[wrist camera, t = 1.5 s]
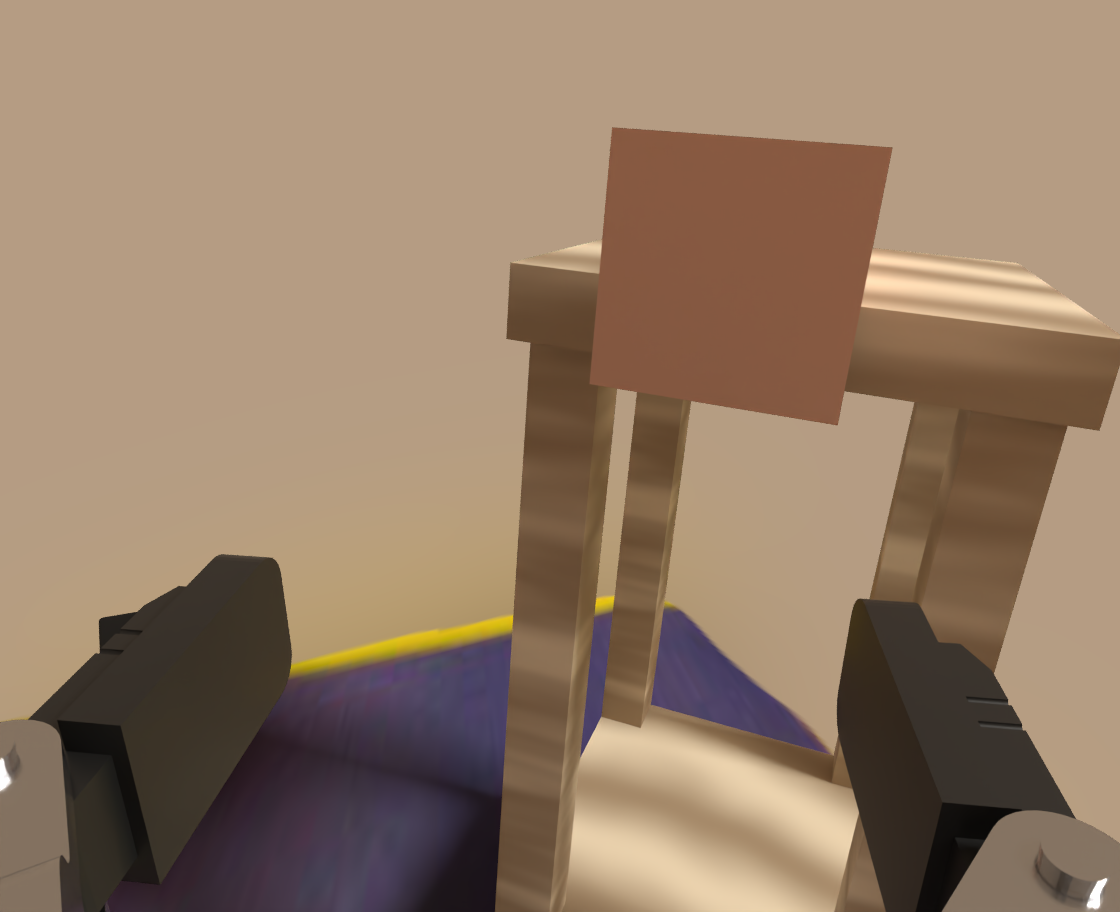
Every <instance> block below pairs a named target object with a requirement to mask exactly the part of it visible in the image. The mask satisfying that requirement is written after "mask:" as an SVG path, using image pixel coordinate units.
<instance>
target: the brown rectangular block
mask: <svg viewBox="0 0 1120 912" xmlns="http://www.w3.org/2000/svg"><path fill="white" fill-rule="evenodd" d="M891 153H892V147H877V146H865V145H851V144H836V143H822V142H808V141H795V140H781V139H766V138H753V137H738V136H725V135H724V136H723V135H710V134H697V133H682V132H669V131H654V130H641V129H627V128H612V136H611V147H610V158H609V170H608V181H607V192H606V203H605V214H604V226H603V238H602V248H601V260H600V271H599V282H598V293H597V305H596V316H595V327H594V338H593V350H592V361H591V372H590V384H592V385H598V386H604V387H610V388H616V389H622V390H628V391H634V392H640V393H646V394H652V395H658V396H664V397H670V398H676V399H682V400H688V401H695V402H701V403H706V404H712V405H719V406H724V407H731V408H736V409H743V410H748V411H755V412H761V413H767V414H772V415H778V416H784V417H791V418H796V419H802V420H808V421H814V422H820V423H826V424H832V425H838V421H839V416H840V410H841V405H842V400H843V395H844V390H845V385H846V380H847V375H848V370H849V365H850V360H851V355H852V350H853V345H854V340H855V335H856V330H857V325H858V320H859V315H860V309H861V304H862V299H863V294H864V289H865V284H866V279H867V274H868V269H869V264H870V259H871V254H872V249H873V244H874V239H875V234H876V229H877V224H878V218H879V213H880V208H881V203H882V198H883V193H884V188H885V183H886V177H887V173H888V168H889V163H890V158H891Z"/></svg>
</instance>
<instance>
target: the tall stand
mask: <svg viewBox="0 0 1120 912" xmlns="http://www.w3.org/2000/svg"><path fill="white" fill-rule="evenodd" d="M601 248H602V239H601V240H597V241H593V242H590V243H585V244H582V245H578V246H574V247H570V248H566V249H562V250H558V251H554V252H550V253H546V254H542V255H539V256H535V257H530V258H527V259H523V260H519V261H515V262H511V263H510V281H509V302H508V319H507V339H511V340H517V341H523V342H530V343H531V344H530V360H529V377H528V392H527V408H526V424H525V440H524V456H523V473H522V489H521V504H520V520H519V537H518V552H517V568H516V585H515V600H514V616H513V632H512V648H511V664H510V680H509V696H508V712H507V728H506V744H505V760H504V776H503V792H502V808H501V824H500V840H499V855H498V871H497V887H496V903H495V912H886V911H885V907H884V903H883V899H882V896H881V892H880V888H879V885H878V881H877V877H876V874H875V870H874V866H873V863H872V859H871V855H870V851H869V848H868V844H867V840H866V837H865V833H864V829H863V826H862V822H861V818H860V815H859V811H858V807H857V803H856V800H855V796H854V792H853V789H852V785H851V781H850V778H849V774H848V770H847V767H846V763H845V759H844V755H843V752H842V748H841V744H840V740H839V735H838V739H837V743H836V748H835V752H834V756H832V755H829V754H825V753H822V752H818V751H815V750H811V749H807V748H804V747H800V746H797V745H793V744H789V743H786V742H782V741H779V740H775V739H771V738H768V737H764V736H761V735H757V734H754V733H750V732H746V731H743V730H739V729H736V728H732V727H728V726H725V725H721V724H718V723H714V722H710V721H707V720H703V719H700V718H696V717H693V716H689V715H685V714H682V713H678V712H675V711H671V710H667V709H664V708H660V707H657V706H653V705H651V699H652V691H653V684H654V676H655V669H656V661H657V654H658V646H659V639H660V631H661V623H662V616H663V608H664V601H665V593H666V585H667V578H668V570H669V563H670V556H671V548H672V541H673V533H674V526H675V518H676V511H677V503H678V495H679V488H680V480H681V473H682V465H683V458H684V450H685V443H686V435H687V427H688V420H689V413H690V404H691V401H688V400H682V399H676V398H670V397H664V396H658V395H652V394H646V393H640V392H637V398H636V407H635V416H634V425H633V434H632V443H631V452H630V462H629V471H628V480H627V490H626V498H625V507H624V516H623V517H624V518H623V526H622V535H621V544H620V553H619V563H618V571H617V581H616V590H615V599H614V608H613V617H612V626H611V635H610V644H609V654H608V663H607V672H606V681H605V690H604V699H603V708H602V717H601V719H600V721H599V723H598V725H597V727H596V729H595V731H594V733H593V735H592V737H591V738H590V740H589V742H588V744H587V746H586V748H585V750H584V752H583V754H582V756H581V758H580V752H581V742H582V732H583V722H584V712H585V702H586V692H587V682H588V672H589V663H590V653H591V643H592V633H593V623H594V613H595V603H596V593H597V583H598V573H599V563H600V553H601V543H602V533H603V523H604V512H605V503H606V494H607V484H608V474H609V463H610V454H611V444H612V434H613V424H614V414H615V404H616V394H617V389H616V388H610V387H604V386H598V385H592V384H590V372H591V361H592V350H593V338H594V327H595V316H596V305H597V293H598V282H599V271H600V260H601ZM1119 366H1120V334H1118V333H1117V332H1115V331H1114V330H1113V329H1111V328H1110V327H1108V326H1107V325H1105V324H1104V323H1102V322H1101V321H1100V320H1098V319H1097V318H1095V317H1094V316H1093V315H1091V314H1090V313H1088V312H1087V311H1085V310H1084V309H1083V308H1081V307H1080V306H1078V305H1077V304H1075V303H1074V302H1073V301H1071V300H1070V299H1068V298H1067V297H1065V296H1064V295H1063V294H1061V293H1060V292H1058V291H1057V290H1055V289H1054V288H1053V287H1051V286H1050V285H1048V284H1047V283H1045V282H1044V281H1043V280H1041V279H1040V278H1038V277H1037V276H1035V275H1034V274H1033V273H1031V272H1030V271H1028V270H1027V269H1025V268H1024V267H1023V266H1021V265H1020V264H1018V263H1011V262H1002V261H991V260H983V259H973V258H964V257H954V256H945V255H935V254H926V253H916V252H907V251H897V250H888V249H878V248H873V249H872V254H871V259H870V264H869V269H868V274H867V279H866V284H865V289H864V294H863V299H862V304H861V309H860V315H859V320H858V325H857V330H856V335H855V340H854V345H853V350H852V355H851V360H850V365H849V370H848V375H847V380H846V385H845V390H844V391H847V392H853V393H859V394H866V395H873V396H879V397H885V398H892V399H898V400H905V401H911V402H914V407H913V411H912V415H911V420H910V424H909V429H908V433H907V437H906V442H905V447H904V450H903V455H902V460H901V464H900V468H899V472H898V477H897V481H896V486H895V490H894V495H893V499H892V503H891V507H890V512H889V516H888V521H887V525H886V530H885V534H884V538H883V542H882V547H881V552H880V555H879V560H878V565H877V568H876V573H875V577H874V582H873V586H872V591H871V595H870V599H872V600H887V601H902V602H916V603H918V604H919V605H920V607H921V608H922V610H923V612H924V614H925V616H926V618H927V620H928V622H929V624H930V626H931V628H932V630H933V632H934V634H935V636H936V638H937V640H938V642H943V643H957V644H961V645H962V646H964V647H965V648H966V649H967V650H968V651H969V652H971V653H972V654H973V655H974V656H975V657H977V658H978V659H979V660H980V661H981V662H982V663H984V664H985V665H986V666H987V667H988V668H989V669H991V670H992V672H993V674H994V672H995V668H996V665H997V661H998V658H999V654H1000V651H1001V648H1002V645H1003V641H1004V638H1005V634H1006V631H1007V628H1008V624H1009V621H1010V618H1011V614H1012V611H1013V608H1014V604H1015V601H1016V597H1017V594H1018V591H1019V587H1020V584H1021V581H1022V577H1023V574H1024V570H1025V567H1026V564H1027V561H1028V557H1029V554H1030V550H1031V547H1032V544H1033V540H1034V537H1035V533H1036V530H1037V527H1038V524H1039V520H1040V517H1041V513H1042V510H1043V507H1044V503H1045V500H1046V496H1047V493H1048V490H1049V487H1050V483H1051V480H1052V476H1053V473H1054V470H1055V466H1056V463H1057V459H1058V456H1059V453H1060V450H1061V446H1062V442H1063V440H1064V436H1065V433H1066V429H1067V426H1073V427H1080V428H1086V429H1092V430H1100V427H1101V424H1102V421H1103V417H1104V414H1105V411H1106V408H1107V405H1108V401H1109V398H1110V395H1111V391H1112V388H1113V385H1114V382H1115V379H1116V376H1117V373H1118V369H1119Z"/></svg>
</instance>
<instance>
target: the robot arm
mask: <svg viewBox="0 0 1120 912" xmlns="http://www.w3.org/2000/svg"><path fill="white" fill-rule="evenodd" d="M291 658H292V650H291V642H290V635H289V628H288V620H287V613H286V606H285V599H284V592H283V585H282V578H281V572H280V568H279V565H278V564H277V562H276V561H275V560H274V559H273V558H267V557H252V556H239V555H224V554H222V555H218V556H216V557H215V558H214V559H213V560H212V561H211V562H210V563H209V564H208V565H207V566H206V567H205V568H204V569H203V570H202V571H201V572H200V573H199V574H198V575H197V576H196V577H195V578H194V579H193V580H192V581H191V583H189V584H188V585H187V586H186V587H183V586H178V587H177V588H175V589H173V590H171V591H169V592H167V593H166V594H164V595H162V596H160V597H158V598H157V599H155V600H153V601H151V602H149V603H148V604H146V605H144V606H143V607H142V608H141V609H140V610H139V611H138V612H137V613H136V614H135V615H134V616H133V617H132V618H131V619H130V620H129V621H128V622H127V623H126V624H125V625H124V626H123V627H122V628H121V629H120V634H115V635H114V636H113V637H112V638H111V639H110V640H109V641H108V642H107V643H105V644H104V645H103V646H102V647H101V651H100V653H99V654H97V653H96V654H94V655H93V656H92V657H91V658H90V659H89V660H88V661H87V662H86V663H85V664H84V665H83V666H82V667H81V668H80V669H79V670H78V671H77V672H76V673H75V674H74V675H73V676H72V677H71V678H70V679H69V680H68V681H67V682H66V683H65V684H64V685H63V686H62V687H61V688H60V689H59V690H58V691H57V692H56V693H55V694H54V695H53V696H52V697H51V698H50V699H48V701H46V703H44V704H43V705H42V706H41V707H40V708H39V709H38V710H37V711H36V712H35V713H34V714H33V715H32V716H31V717H30V718H29V719H28V720H11V721H5V722H0V912H110V910H109V907H108V903H107V900H108V899H109V897H110V896H111V894H112V893H113V891H114V890H115V889H116V887H117V886H118V884H119V883H120V881H121V880H122V881H131V882H140V883H149V884H158V885H160V884H161V883H162V881H163V879H164V878H165V876H166V875H167V873H168V872H169V870H170V868H171V867H172V865H173V864H174V862H175V861H176V859H177V858H178V856H179V854H180V853H181V851H182V850H183V848H184V847H185V845H186V843H187V842H188V840H189V839H190V837H191V836H192V834H193V832H194V831H195V829H196V828H197V826H198V825H199V823H200V821H201V820H202V818H203V817H204V815H205V814H206V812H207V810H208V809H209V807H210V806H211V804H212V803H213V801H214V800H215V798H216V796H217V795H218V793H219V792H220V790H221V789H222V787H223V785H224V784H225V782H226V781H227V779H228V778H229V776H230V774H231V773H232V771H233V770H234V768H235V767H236V765H237V763H238V762H239V760H240V759H241V757H242V756H243V754H244V753H245V751H246V749H247V748H248V746H249V745H250V743H251V742H252V740H253V738H254V737H255V735H256V734H257V732H258V731H259V729H260V727H261V726H262V724H263V723H264V721H265V720H266V718H267V716H268V715H269V713H270V712H271V710H272V709H273V707H274V705H275V704H276V702H277V701H278V699H279V698H280V696H281V694H282V693H283V691H284V689H285V686H286V684H287V681H288V677H289V673H290V668H291ZM837 726H838V734H839V740H840V744H841V748H842V752H843V755H844V759H845V763H846V767H847V770H848V774H849V778H850V781H851V785H852V789H853V792H854V796H855V800H856V803H857V807H858V811H859V815H860V818H861V822H862V826H863V829H864V833H865V837H866V840H867V844H868V848H869V851H870V855H871V859H872V863H873V866H874V870H875V874H876V877H877V881H878V885H879V888H880V892H881V896H882V899H883V903H884V907H885V911H886V912H1120V843H1119V842H1117V841H1116V840H1114V839H1113V838H1111V837H1110V836H1108V835H1107V834H1105V833H1104V832H1102V831H1100V830H1098V829H1096V828H1095V827H1093V826H1091V825H1088V824H1086V823H1084V822H1082V821H1079V820H1077V819H1076V818H1075V816H1074V815H1073V813H1072V811H1071V809H1070V808H1069V806H1068V804H1067V802H1066V801H1065V799H1064V797H1063V795H1062V794H1061V792H1060V790H1059V788H1058V786H1057V785H1056V783H1055V781H1054V779H1053V778H1052V776H1051V774H1050V773H1049V771H1048V769H1047V767H1046V765H1045V764H1044V762H1043V760H1042V759H1041V757H1040V755H1039V753H1038V751H1037V750H1036V748H1035V746H1034V744H1033V742H1032V741H1031V739H1030V737H1029V735H1028V734H1027V732H1026V731H1023V730H1022V723H1021V721H1020V720H1019V718H1018V716H1017V715H1016V713H1015V711H1014V709H1013V707H1012V706H1011V705H1008V699H1007V697H1006V695H1005V693H1004V691H1003V690H1002V688H1001V686H1000V684H999V683H998V681H997V679H996V677H995V676H994V674H993V672H992V670H991V669H989V668H988V667H987V666H986V665H985V664H984V663H982V662H981V661H980V660H979V659H978V658H977V657H975V656H974V655H973V654H972V653H971V652H969V651H968V650H967V649H966V648H965V647H964V646H962V645H961V644H957V643H943V642H938V640H937V638H936V636H935V634H934V632H933V630H932V628H931V626H930V624H929V622H928V620H927V618H926V616H925V614H924V612H923V610H922V608H921V607H920V605H919V604H918V603H916V602H902V601H887V600H872V599H858V600H857V601H856V603H855V604H854V607H853V610H852V615H851V620H850V626H849V632H848V638H847V644H846V649H845V656H844V661H843V667H842V673H841V679H840V685H839V690H838V698H837Z"/></svg>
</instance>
